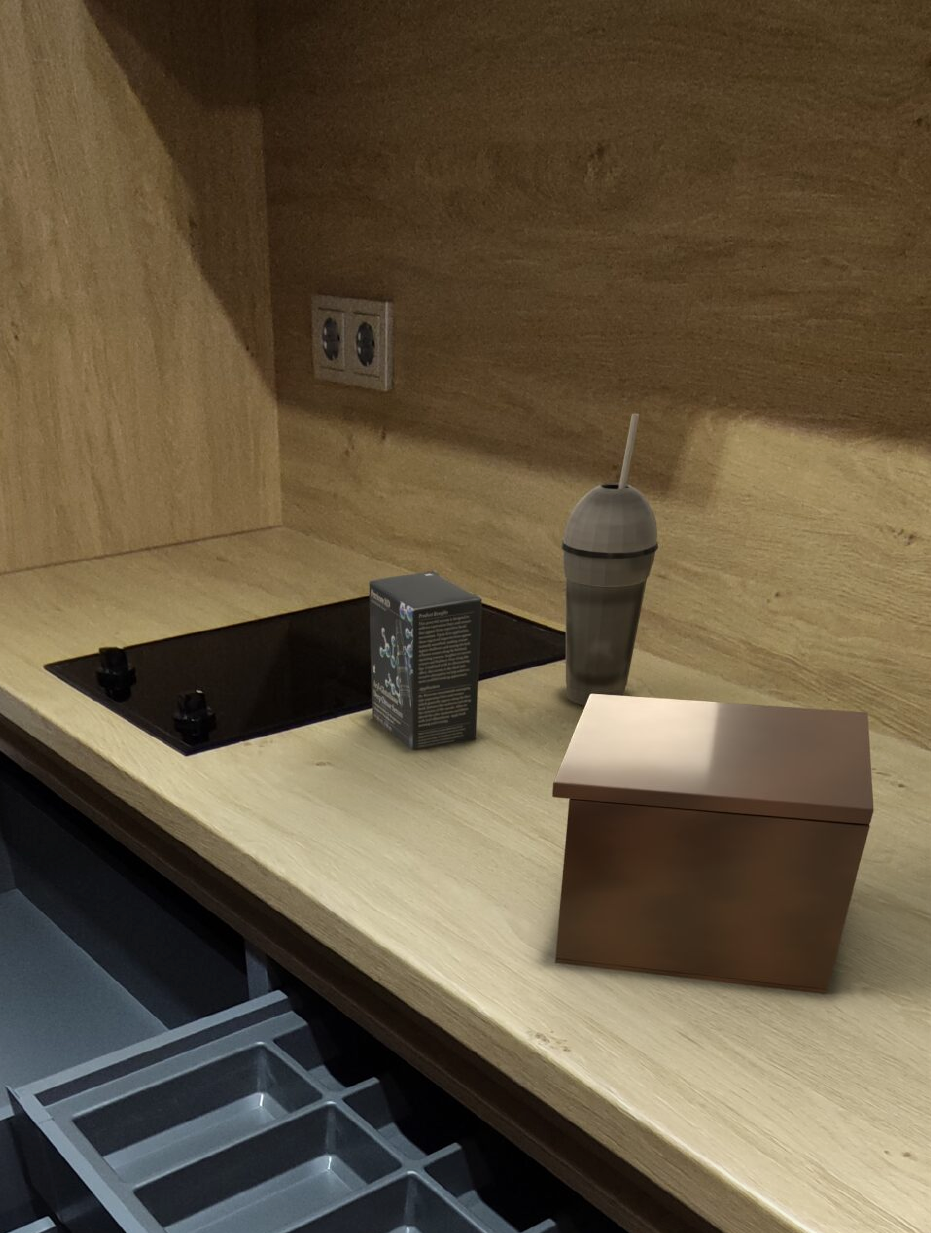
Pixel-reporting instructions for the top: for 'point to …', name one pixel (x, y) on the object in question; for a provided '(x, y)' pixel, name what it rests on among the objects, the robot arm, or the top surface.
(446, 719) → the box
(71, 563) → the top surface
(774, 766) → the lid
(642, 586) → the beverage cup
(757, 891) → the chest
